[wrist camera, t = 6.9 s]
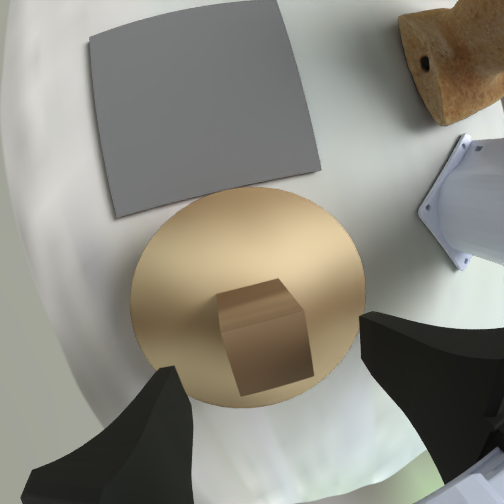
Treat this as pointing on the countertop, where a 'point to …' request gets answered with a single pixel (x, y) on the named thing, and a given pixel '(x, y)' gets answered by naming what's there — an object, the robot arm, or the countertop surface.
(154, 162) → the charcoal mat
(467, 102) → the stone cup
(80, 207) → the countertop surface
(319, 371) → the oak lid
